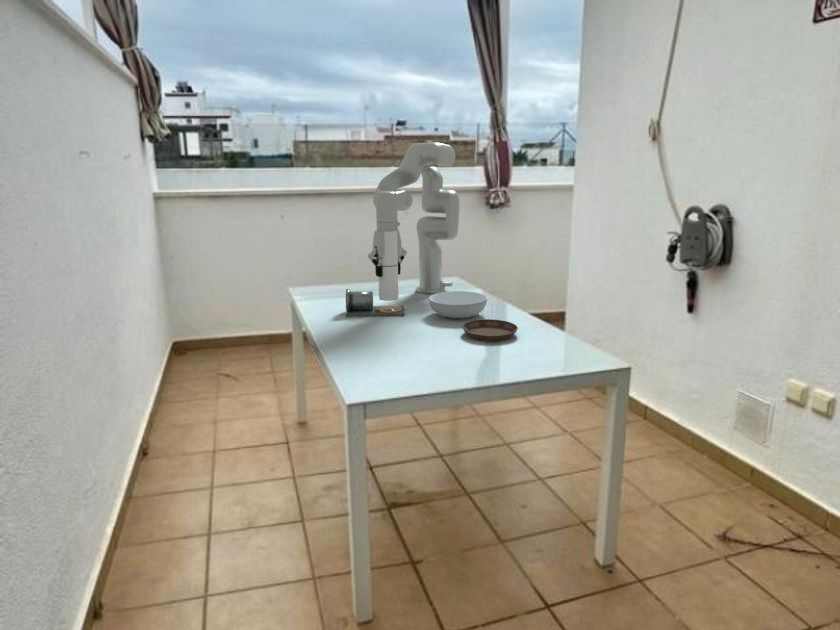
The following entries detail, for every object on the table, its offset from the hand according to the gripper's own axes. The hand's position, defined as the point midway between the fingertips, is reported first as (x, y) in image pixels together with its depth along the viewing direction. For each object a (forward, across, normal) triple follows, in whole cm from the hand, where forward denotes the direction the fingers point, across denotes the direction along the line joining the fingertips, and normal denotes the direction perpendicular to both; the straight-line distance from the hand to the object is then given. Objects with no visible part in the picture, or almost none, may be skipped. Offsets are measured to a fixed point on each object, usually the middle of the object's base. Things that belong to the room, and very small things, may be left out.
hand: (388, 274), depth 215 cm
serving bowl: (+14, -17, +19) cm, 29 cm away
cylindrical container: (+9, 0, 0) cm, 9 cm away
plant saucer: (+15, -9, +44) cm, 48 cm away
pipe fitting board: (+14, +4, -3) cm, 15 cm away
